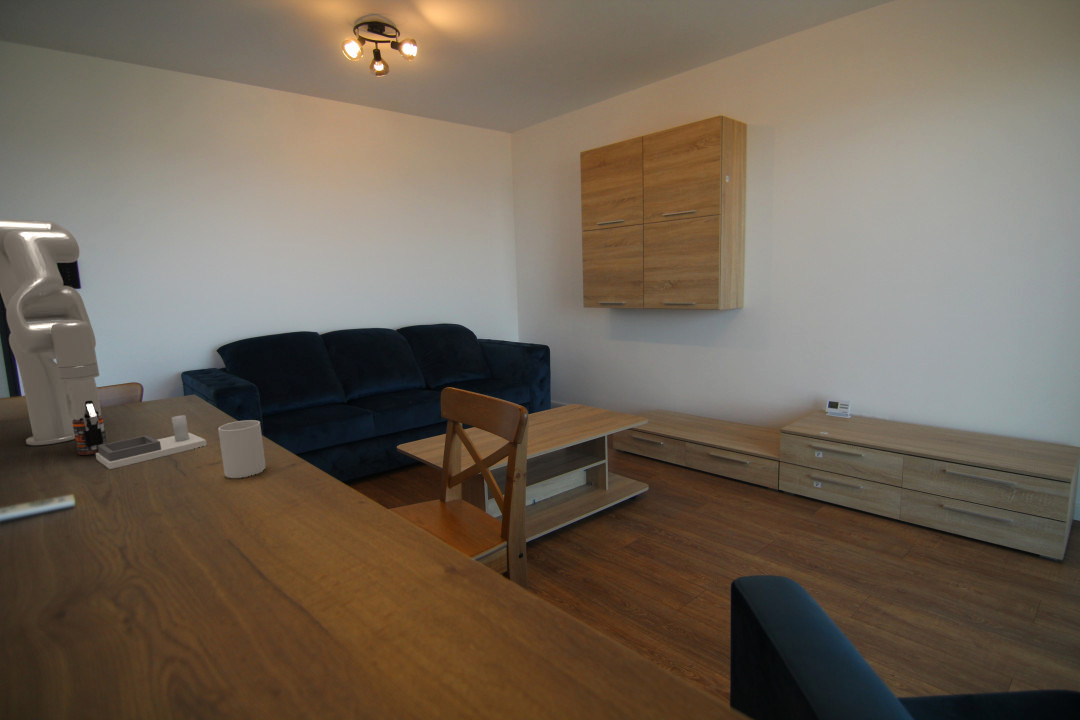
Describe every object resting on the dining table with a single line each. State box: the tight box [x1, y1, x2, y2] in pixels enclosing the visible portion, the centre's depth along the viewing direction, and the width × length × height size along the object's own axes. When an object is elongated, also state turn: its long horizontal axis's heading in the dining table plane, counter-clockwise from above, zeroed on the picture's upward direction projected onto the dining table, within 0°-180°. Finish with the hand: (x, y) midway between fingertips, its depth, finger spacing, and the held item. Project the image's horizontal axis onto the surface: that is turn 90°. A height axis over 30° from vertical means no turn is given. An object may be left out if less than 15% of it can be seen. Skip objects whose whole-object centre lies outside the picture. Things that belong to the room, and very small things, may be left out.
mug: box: [217, 419, 266, 479], centre depth 119 cm, size 12×8×10 cm, turn 48°
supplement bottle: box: [72, 411, 108, 456], centre depth 137 cm, size 6×6×11 cm
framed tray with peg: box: [95, 414, 207, 470], centre depth 135 cm, size 12×20×8 cm, turn 140°
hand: (91, 442), depth 137 cm, fingers closed on supplement bottle, 5 cm apart
